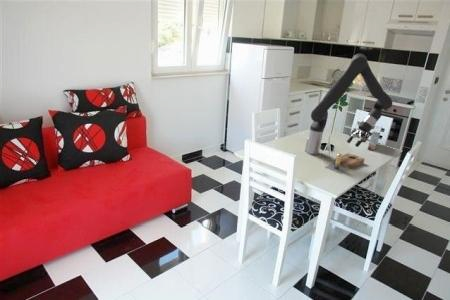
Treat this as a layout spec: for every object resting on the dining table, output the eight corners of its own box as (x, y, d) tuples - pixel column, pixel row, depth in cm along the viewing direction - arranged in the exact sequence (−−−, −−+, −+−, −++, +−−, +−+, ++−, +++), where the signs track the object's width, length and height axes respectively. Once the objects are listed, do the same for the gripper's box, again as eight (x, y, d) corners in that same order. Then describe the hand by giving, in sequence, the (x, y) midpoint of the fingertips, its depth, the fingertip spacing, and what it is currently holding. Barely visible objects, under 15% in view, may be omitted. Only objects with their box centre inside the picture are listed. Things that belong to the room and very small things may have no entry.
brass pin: (333, 168, 206) (336, 154, 202) (335, 167, 208) (338, 153, 204) (337, 169, 204) (340, 155, 200) (339, 168, 206) (342, 154, 202)
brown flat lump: (334, 163, 215) (335, 158, 214) (347, 157, 227) (348, 153, 226) (350, 169, 207) (352, 164, 206) (363, 163, 219) (364, 158, 218)
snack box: (374, 151, 244) (379, 132, 238) (367, 149, 246) (371, 131, 240) (377, 143, 261) (382, 126, 255) (370, 142, 263) (374, 124, 258)
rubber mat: (324, 167, 207) (324, 167, 207) (332, 164, 214) (332, 163, 213) (340, 174, 199) (341, 173, 199) (348, 170, 205) (348, 170, 205)
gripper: (357, 118, 209) (341, 138, 210) (371, 123, 196) (355, 144, 197) (363, 124, 212) (348, 144, 213) (379, 129, 199) (362, 150, 200)
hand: (352, 144), depth 205 cm, fingers open, 8 cm apart
